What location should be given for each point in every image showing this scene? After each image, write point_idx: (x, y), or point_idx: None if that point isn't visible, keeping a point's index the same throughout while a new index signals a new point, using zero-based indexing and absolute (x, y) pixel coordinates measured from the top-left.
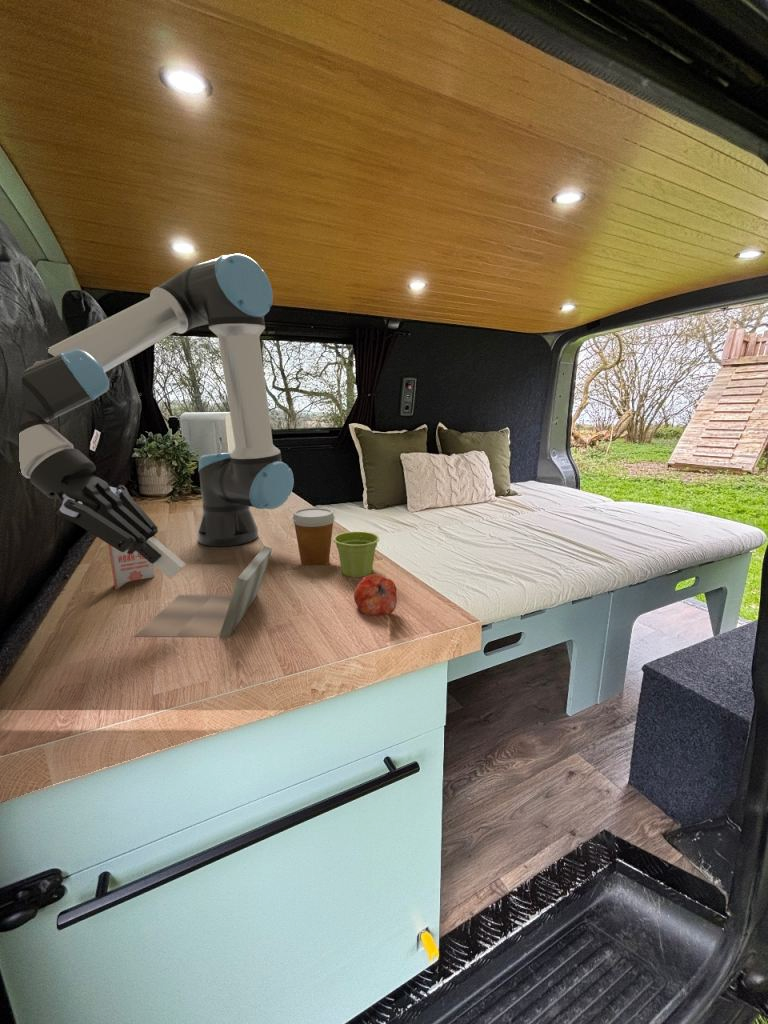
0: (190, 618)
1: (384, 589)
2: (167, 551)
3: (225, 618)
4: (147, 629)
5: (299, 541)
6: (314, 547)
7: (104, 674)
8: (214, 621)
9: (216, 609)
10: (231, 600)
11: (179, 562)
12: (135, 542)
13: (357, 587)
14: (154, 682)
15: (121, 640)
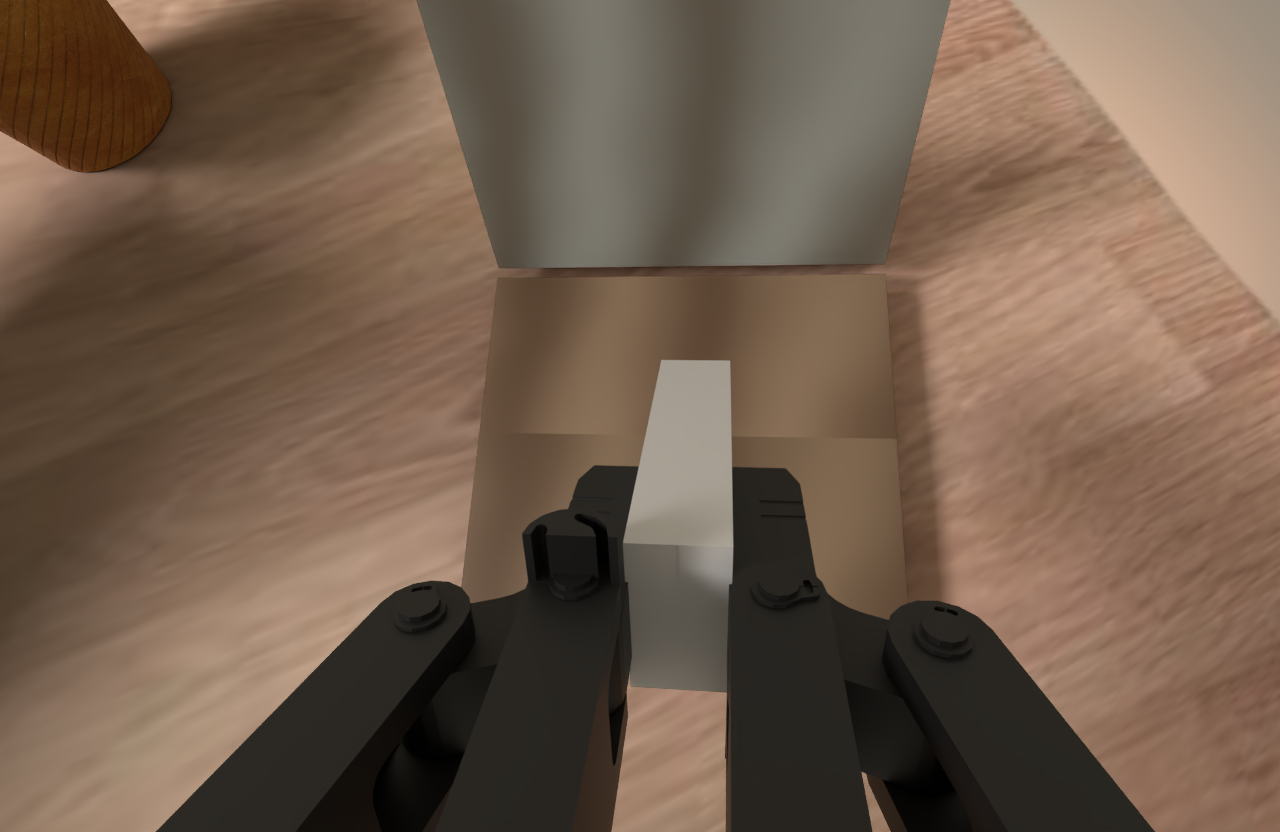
0: None
1: None
2: (680, 434)
3: (903, 184)
4: (840, 600)
5: (17, 62)
6: (93, 10)
7: (1128, 646)
8: (756, 327)
9: (642, 358)
10: (927, 88)
11: (694, 376)
12: (876, 622)
13: None
14: (1143, 419)
15: None
